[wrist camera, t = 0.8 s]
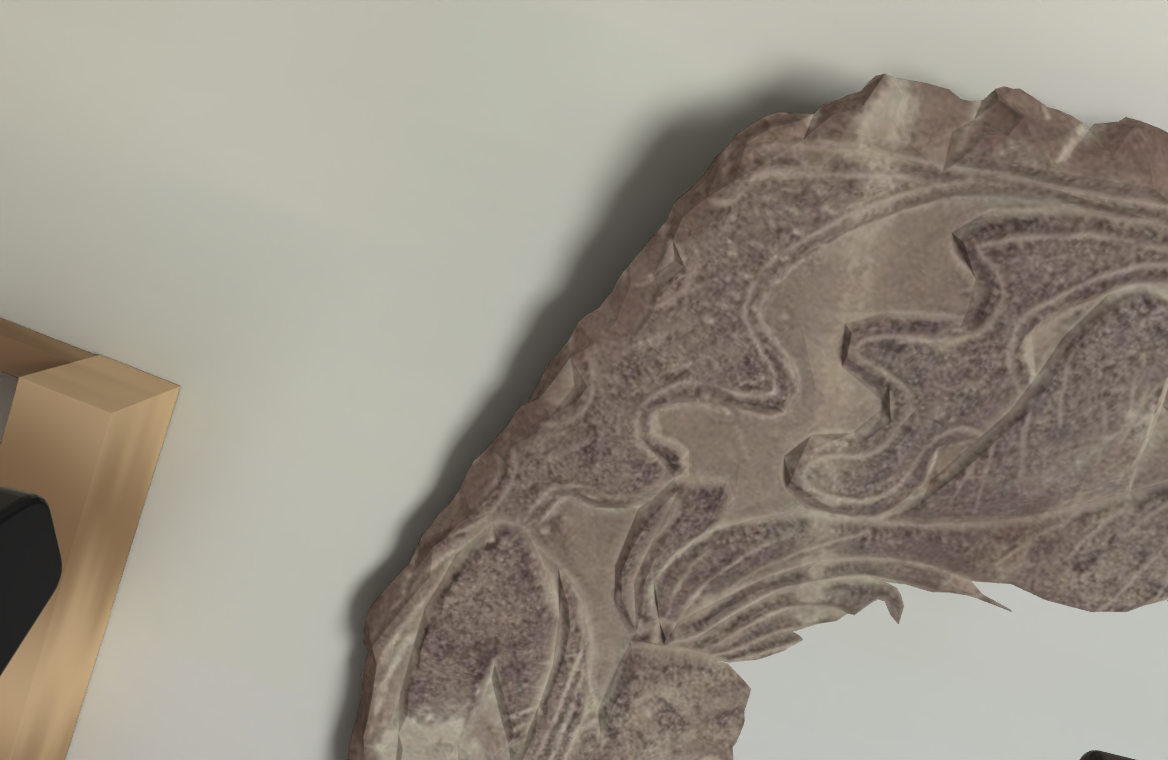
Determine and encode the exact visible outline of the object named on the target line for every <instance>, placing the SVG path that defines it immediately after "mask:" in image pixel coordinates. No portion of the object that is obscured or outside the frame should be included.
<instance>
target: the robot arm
mask: <svg viewBox="0 0 1168 760" xmlns="http://www.w3.org/2000/svg"><path fill="white" fill-rule="evenodd" d="M61 573H62V557H61V553H60V549H59V544H58V540H57V536H56V531H55V527H54V523H53V518H52V514H51V510H50V507H49V504H48V503H47V501H46V500H45V499H44V498H43V497H42V496H40V495H38V494H35V493H30V492H26V491H22V490H18V489H14V488H10V487H1V486H0V676H1V675H2V673H3V671H4V670H5V668H6V667H7V665H8V664H9V662H10V661H11V659H12V657H13V656H14V654H15V653H16V651H17V650H18V648H19V647H20V645H21V643H22V642H23V640H24V639H25V637H26V636H27V634H28V632H29V631H30V629H31V628H32V626H33V625H34V623H35V622H36V620H37V618H38V617H39V615H40V614H41V612H42V611H43V609H44V608H45V606H46V604H47V603H48V601H49V600H50V598H51V597H52V595H53V593H54V592H55V590H56V588H57V586H58V583H59V581H60V578H61ZM1080 760H1135V759H1131V758H1127V757H1123V756H1119V755H1115V754H1110V753H1106V752H1102V751H1098V750H1093V751H1089V752H1087V753H1086V754H1084V755H1083V756H1082V757H1081V759H1080Z"/></svg>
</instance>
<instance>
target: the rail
mask: <svg viewBox="0 0 1168 760" xmlns="http://www.w3.org/2000/svg"><path fill="white" fill-rule="evenodd" d="M0 371H2V372H5V373H7V374H10V375H12V376H15V377H17V378H19V380H18V384H17V387H16V391H15V395H14V398H13V402H12V405H11V409H10V413H9V416H8V420H7V424H6V427H5V431H4V434H3V438H2V442H1V445H0V486H1V487H10V488H14V489H18V490H22V491H26V492H30V493H35V494H38V495H40V496H42V497H43V498H44V499H45V500H46V501H47V503H48V504H49V507H50V510H51V514H52V518H53V523H54V527H55V531H56V536H57V540H58V544H59V549H60V553H61V557H62V573H61V578H60V581H59V583H58V586H57V588H56V590H55V592H54V593H53V595H52V597H51V598H50V600H49V601H48V603H47V604H46V606H45V608H44V609H43V611H42V612H41V614H40V615H39V617H38V618H37V620H36V622H35V623H34V625H33V626H32V628H31V629H30V631H29V632H28V634H27V636H26V637H25V639H24V640H23V642H22V643H21V645H20V647H19V648H18V650H17V651H16V653H15V654H14V656H13V657H12V659H11V661H10V662H9V664H8V665H7V667H6V668H5V670H4V671H3V673H2V675H1V676H0V760H65V758H66V755H67V752H68V748H69V745H70V742H71V739H72V735H73V732H74V729H75V726H76V723H77V719H78V716H79V713H80V710H81V706H82V703H83V700H84V697H85V693H86V690H87V687H88V684H89V680H90V677H91V674H92V671H93V668H94V664H95V661H96V658H97V655H98V651H99V648H100V645H101V642H102V638H103V635H104V632H105V629H106V626H107V622H108V619H109V616H110V613H111V609H112V606H113V603H114V600H115V596H116V593H117V590H118V587H119V584H120V580H121V577H122V574H123V571H124V567H125V564H126V561H127V558H128V554H129V551H130V548H131V545H132V542H133V538H134V535H135V532H136V529H137V525H138V522H139V519H140V516H141V512H142V509H143V506H144V503H145V499H146V496H147V493H148V490H149V487H150V483H151V480H152V477H153V474H154V470H155V467H156V464H157V461H158V457H159V454H160V451H161V448H162V445H163V441H164V438H165V435H166V432H167V428H168V425H169V422H170V419H171V415H172V412H173V409H174V406H175V403H176V399H177V396H178V393H179V390H180V386H179V385H176V384H174V383H171V382H169V381H166V380H163V379H161V378H158V377H156V376H153V375H151V374H148V373H146V372H143V371H140V370H138V369H135V368H133V367H130V366H128V365H125V364H123V363H120V362H117V361H115V360H112V359H110V358H107V357H105V356H102V355H98V356H96V355H94V354H91V353H89V352H86V351H84V350H81V349H79V348H76V347H73V346H71V345H68V344H66V343H63V342H61V341H58V340H56V339H53V338H50V337H48V336H45V335H43V334H40V333H38V332H35V331H33V330H30V329H27V328H25V327H22V326H20V325H17V324H15V323H12V322H10V321H7V320H4V319H2V318H0Z"/></svg>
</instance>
